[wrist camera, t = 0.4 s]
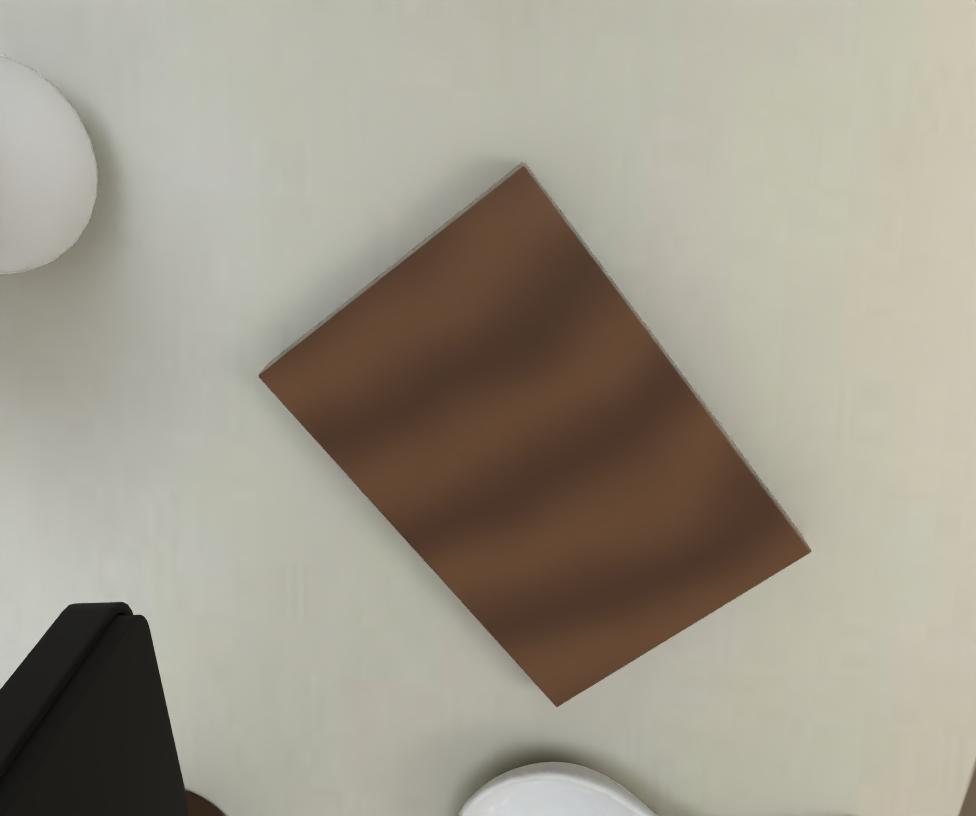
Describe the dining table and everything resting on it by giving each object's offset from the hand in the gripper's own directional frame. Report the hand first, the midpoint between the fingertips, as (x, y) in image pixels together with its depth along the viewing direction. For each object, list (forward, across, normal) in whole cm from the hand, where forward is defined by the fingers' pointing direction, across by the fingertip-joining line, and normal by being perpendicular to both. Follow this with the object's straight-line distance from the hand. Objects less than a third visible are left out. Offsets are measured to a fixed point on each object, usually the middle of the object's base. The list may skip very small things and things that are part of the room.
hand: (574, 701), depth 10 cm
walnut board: (+35, 0, +13) cm, 37 cm away
